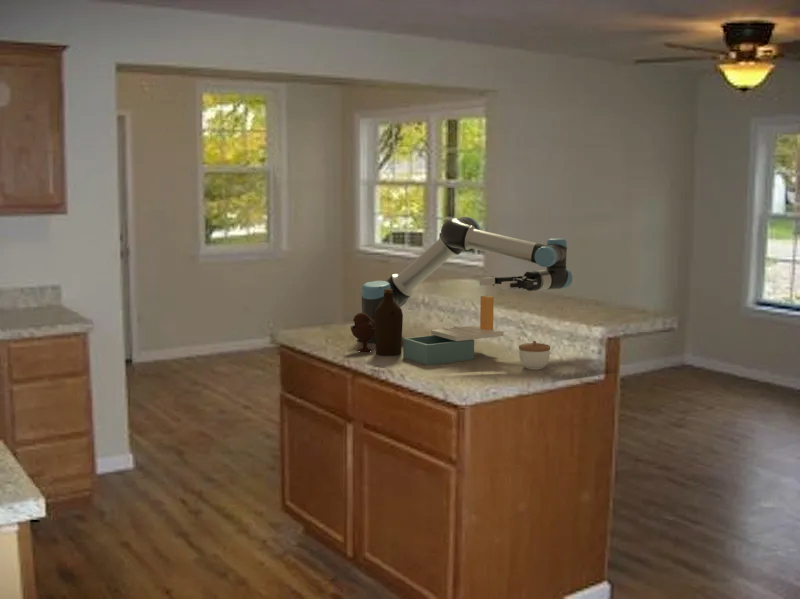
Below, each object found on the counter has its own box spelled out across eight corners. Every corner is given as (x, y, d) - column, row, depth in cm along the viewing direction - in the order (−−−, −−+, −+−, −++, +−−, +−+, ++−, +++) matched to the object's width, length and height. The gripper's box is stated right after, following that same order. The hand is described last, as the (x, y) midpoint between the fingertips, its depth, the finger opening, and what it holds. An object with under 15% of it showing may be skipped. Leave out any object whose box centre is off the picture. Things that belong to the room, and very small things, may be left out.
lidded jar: (531, 363, 319) (532, 337, 317) (556, 367, 311) (556, 341, 310) (512, 367, 311) (512, 341, 310) (536, 372, 304) (537, 345, 302)
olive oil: (408, 355, 333) (408, 288, 329) (389, 360, 325) (389, 291, 321) (387, 352, 339) (387, 286, 336) (368, 356, 331) (367, 289, 328)
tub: (403, 360, 325) (403, 338, 324) (449, 354, 335) (449, 333, 334) (426, 367, 311) (426, 345, 310) (474, 361, 321) (474, 339, 320)
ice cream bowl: (375, 354, 335) (375, 314, 333) (347, 353, 338) (346, 314, 336) (382, 349, 346) (381, 310, 344) (354, 348, 348) (353, 310, 346)
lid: (431, 334, 330) (431, 297, 328) (477, 329, 340) (477, 293, 339) (456, 341, 316) (456, 302, 314) (503, 335, 326) (503, 298, 324)
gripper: (557, 294, 331) (511, 297, 321) (515, 286, 353) (471, 290, 342) (558, 273, 330) (512, 276, 320) (516, 267, 352) (471, 270, 341)
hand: (490, 283), depth 331 cm, fingers open, 13 cm apart
